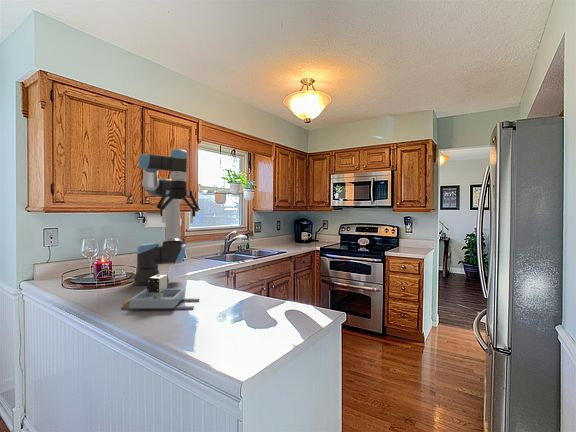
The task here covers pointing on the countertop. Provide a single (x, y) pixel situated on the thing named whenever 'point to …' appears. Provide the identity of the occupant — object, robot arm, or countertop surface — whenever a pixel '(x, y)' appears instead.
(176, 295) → the shallow square tray
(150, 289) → the pneumatic valve
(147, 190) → the robot arm
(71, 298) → the countertop surface
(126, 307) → the rails
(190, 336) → the countertop surface
